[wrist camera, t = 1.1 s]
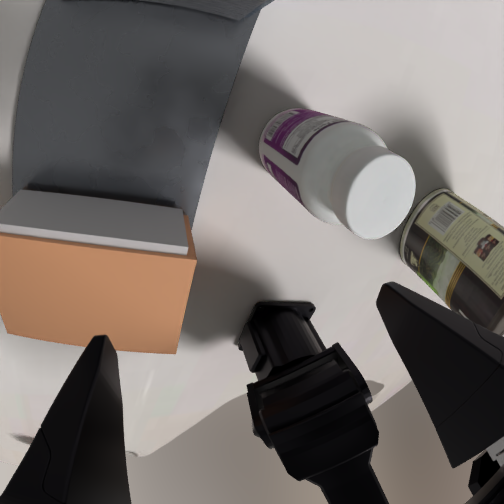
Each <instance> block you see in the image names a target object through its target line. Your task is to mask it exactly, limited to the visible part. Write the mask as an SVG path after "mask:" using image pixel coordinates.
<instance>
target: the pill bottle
mask: <svg viewBox="0 0 504 504" xmlns="http://www.w3.org/2000/svg"><path fill="white" fill-rule="evenodd" d="M259 155H260V158H261V161H262V164H263V166H264V167H265V169H266V170H267V171H268V173H269V174H270V175H271V176H272V177H273V178H275V179H276V180H277V181H278V182H279V183H280V184H281V185H282V186H283V187H284V188H285V189H286V190H287V191H288V192H289V193H290V194H291V195H292V196H293V197H295V199H297V200H298V201H299V202H300V203H301V204H302V205H303V206H304V207H305V208H306V209H307V210H308V211H309V212H310V213H311V214H312V215H313V216H315V217H316V218H318V219H319V220H321V221H323V222H326V223H329V224H333V225H344V226H345V227H347V228H348V229H349V230H350V231H351V232H353V233H354V234H355V235H357V236H359V237H361V238H364V239H378V238H381V237H383V236H385V235H387V234H389V233H390V232H392V231H393V230H394V229H396V228H397V227H398V226H399V225H400V224H401V222H402V221H403V220H404V219H405V217H406V215H407V214H408V212H409V210H410V208H411V206H412V203H413V200H414V196H415V189H416V183H415V176H414V172H413V170H412V168H411V166H410V164H409V163H408V162H407V161H406V160H405V159H404V158H403V157H401V156H399V155H398V154H396V153H394V152H392V151H390V150H389V149H387V147H386V145H385V143H384V142H383V140H382V139H381V138H380V137H379V136H378V134H376V133H375V132H374V131H373V130H371V129H369V128H367V127H365V126H363V125H361V124H358V123H354V122H351V121H348V120H345V119H342V118H338V117H334V116H331V115H327V114H324V113H320V112H316V111H312V110H308V109H303V108H294V109H288V110H285V111H283V112H280V113H278V114H277V115H275V116H274V117H273V118H272V119H271V120H270V121H269V122H268V123H267V125H266V126H265V128H264V130H263V132H262V134H261V137H260V141H259Z"/></svg>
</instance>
